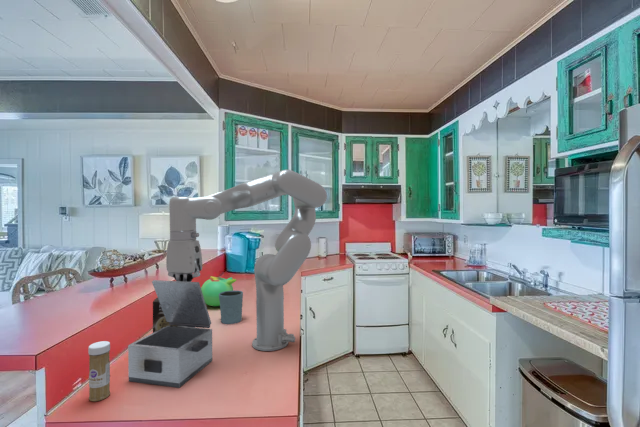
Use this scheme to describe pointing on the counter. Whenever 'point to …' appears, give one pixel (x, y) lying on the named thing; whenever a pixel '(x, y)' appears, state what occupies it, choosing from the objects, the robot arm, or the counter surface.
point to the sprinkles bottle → (99, 370)
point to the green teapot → (216, 289)
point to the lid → (182, 303)
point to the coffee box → (158, 317)
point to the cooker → (170, 356)
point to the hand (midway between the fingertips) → (184, 295)
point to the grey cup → (231, 306)
